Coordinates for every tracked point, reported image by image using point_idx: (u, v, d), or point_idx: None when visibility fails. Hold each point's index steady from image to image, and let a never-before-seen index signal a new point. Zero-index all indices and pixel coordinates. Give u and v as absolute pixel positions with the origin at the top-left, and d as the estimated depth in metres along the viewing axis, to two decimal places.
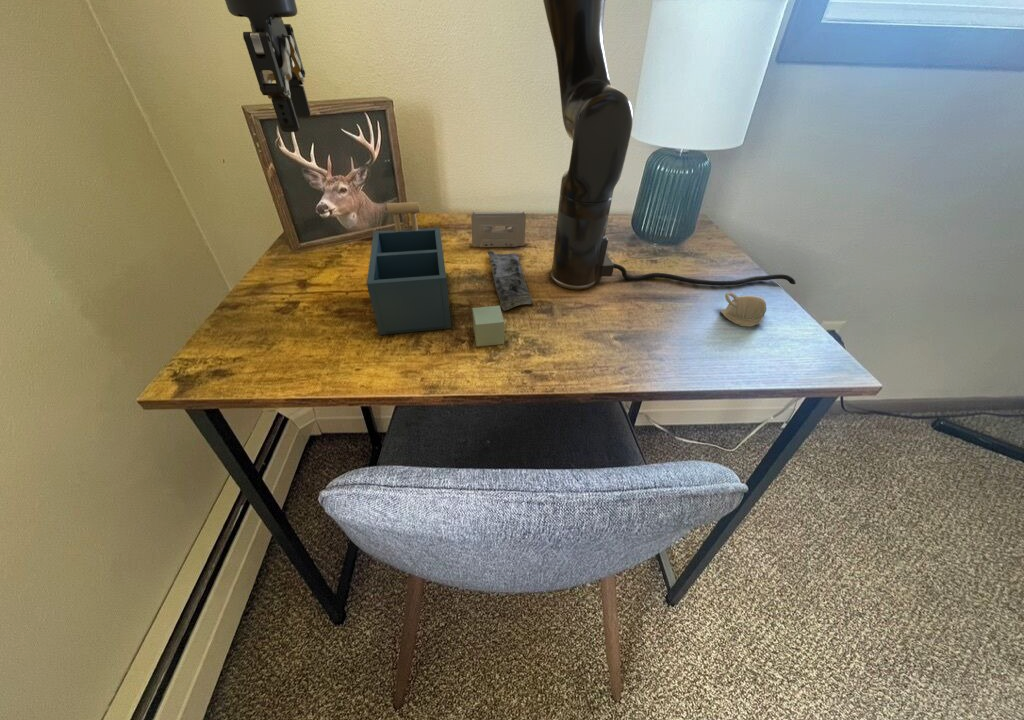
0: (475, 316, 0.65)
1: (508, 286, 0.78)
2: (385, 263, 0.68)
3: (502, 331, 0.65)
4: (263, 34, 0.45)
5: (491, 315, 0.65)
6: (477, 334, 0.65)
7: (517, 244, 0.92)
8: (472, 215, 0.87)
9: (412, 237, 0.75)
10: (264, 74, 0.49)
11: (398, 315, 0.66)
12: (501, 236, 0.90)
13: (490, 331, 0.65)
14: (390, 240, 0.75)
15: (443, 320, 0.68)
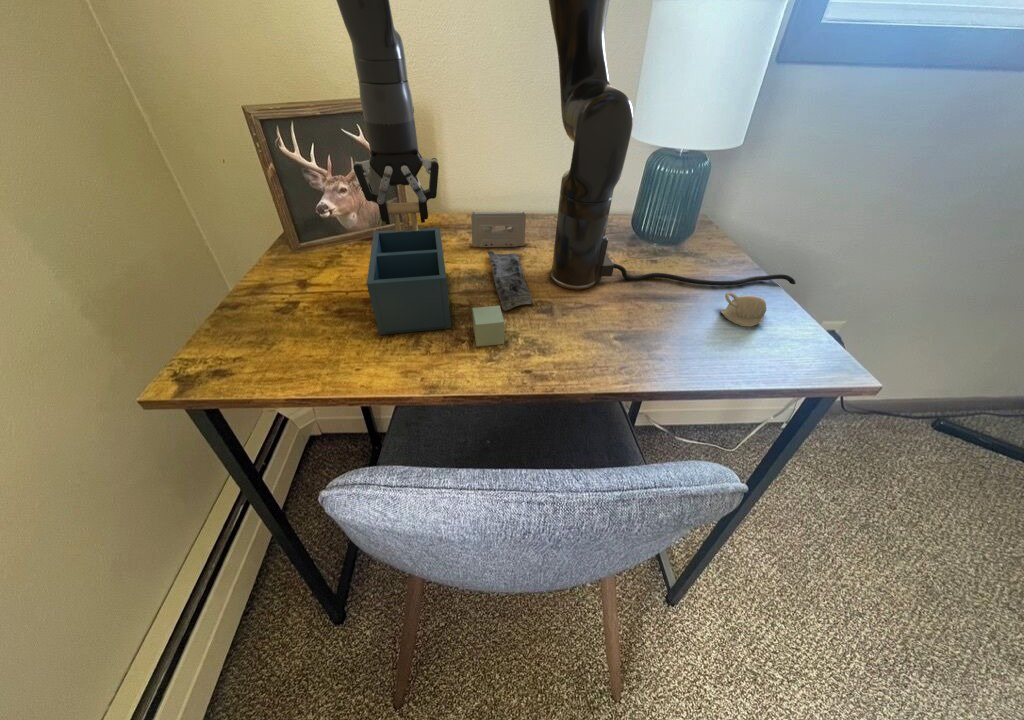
0: (475, 316, 0.65)
1: (508, 286, 0.78)
2: (385, 263, 0.68)
3: (502, 331, 0.65)
4: None
5: (491, 315, 0.65)
6: (477, 334, 0.65)
7: (517, 244, 0.92)
8: (472, 215, 0.87)
9: (412, 237, 0.75)
10: (380, 184, 0.69)
11: (398, 315, 0.66)
12: (501, 236, 0.90)
13: (490, 331, 0.65)
14: (390, 240, 0.75)
15: (443, 320, 0.68)
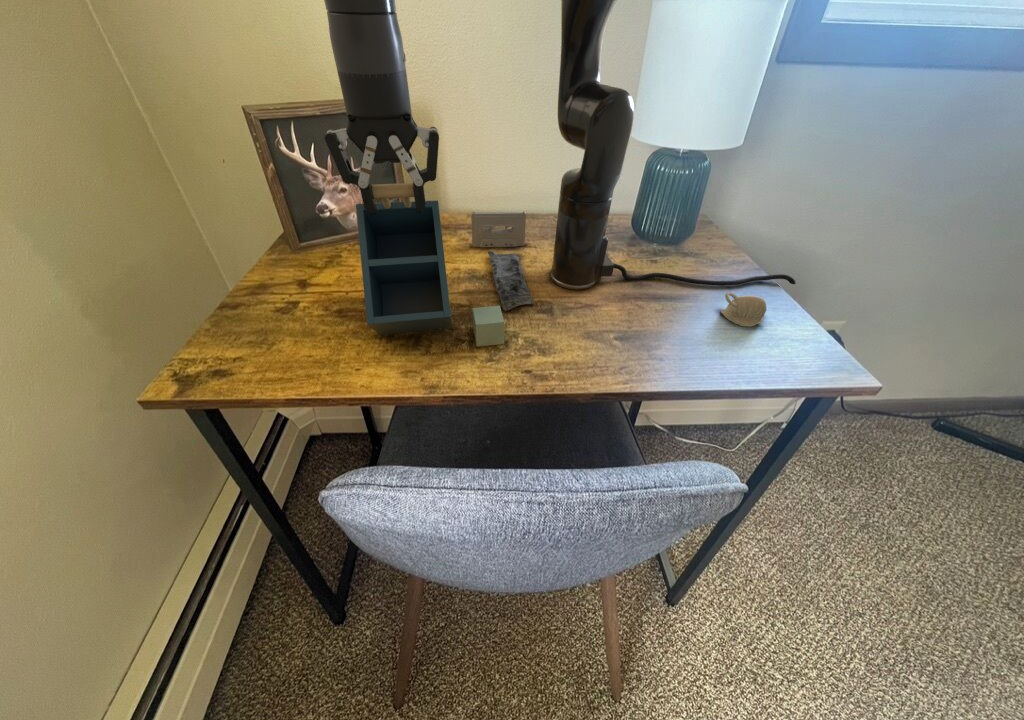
0: (475, 316, 0.65)
1: (509, 286, 0.78)
2: (378, 268, 0.60)
3: (502, 331, 0.65)
4: (325, 135, 0.48)
5: (491, 315, 0.65)
6: (477, 334, 0.65)
7: (517, 244, 0.92)
8: (472, 215, 0.87)
9: (404, 211, 0.61)
10: None
11: (398, 329, 0.65)
12: (501, 236, 0.90)
13: (490, 331, 0.65)
14: (377, 214, 0.61)
15: (444, 327, 0.68)
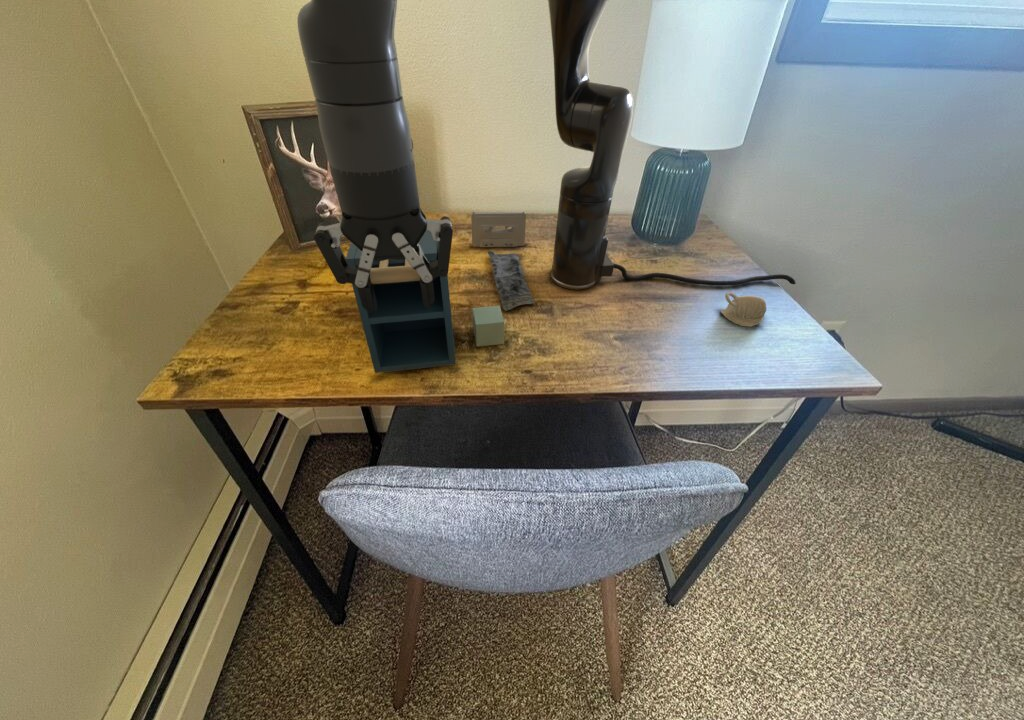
0: (475, 316, 0.65)
1: (509, 286, 0.78)
2: None
3: (502, 331, 0.65)
4: None
5: (491, 315, 0.65)
6: (477, 334, 0.65)
7: (517, 244, 0.92)
8: (472, 215, 0.87)
9: None
10: None
11: None
12: (501, 236, 0.90)
13: (490, 331, 0.65)
14: None
15: None
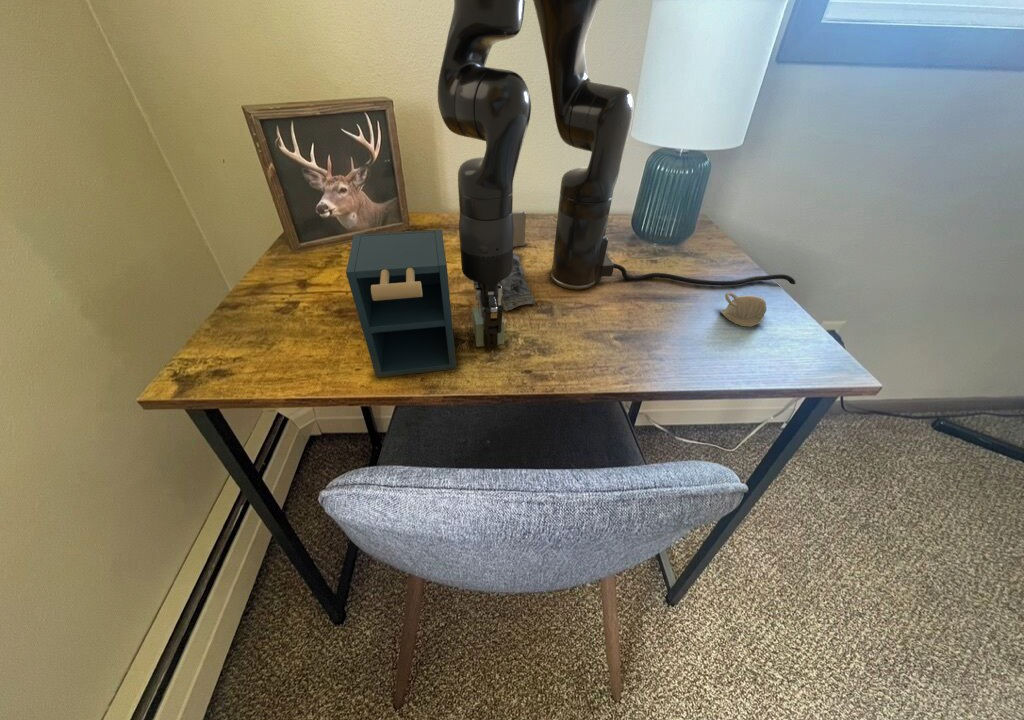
0: (475, 316, 0.65)
1: (509, 286, 0.78)
2: None
3: (502, 331, 0.65)
4: (500, 310, 0.57)
5: None
6: (477, 334, 0.65)
7: (517, 244, 0.92)
8: None
9: None
10: (483, 316, 0.62)
11: None
12: None
13: None
14: None
15: None
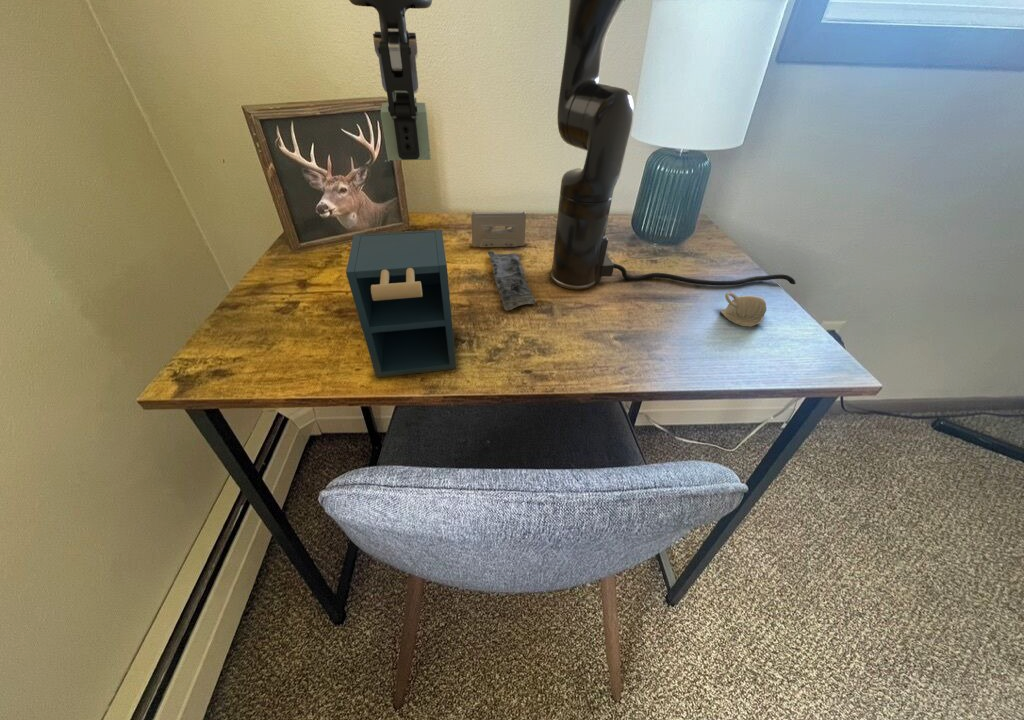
0: (383, 107, 0.42)
1: (510, 286, 0.78)
2: None
3: (425, 132, 0.43)
4: (405, 47, 0.34)
5: None
6: (386, 134, 0.42)
7: (517, 244, 0.92)
8: (472, 215, 0.87)
9: None
10: None
11: None
12: (501, 236, 0.90)
13: None
14: None
15: None
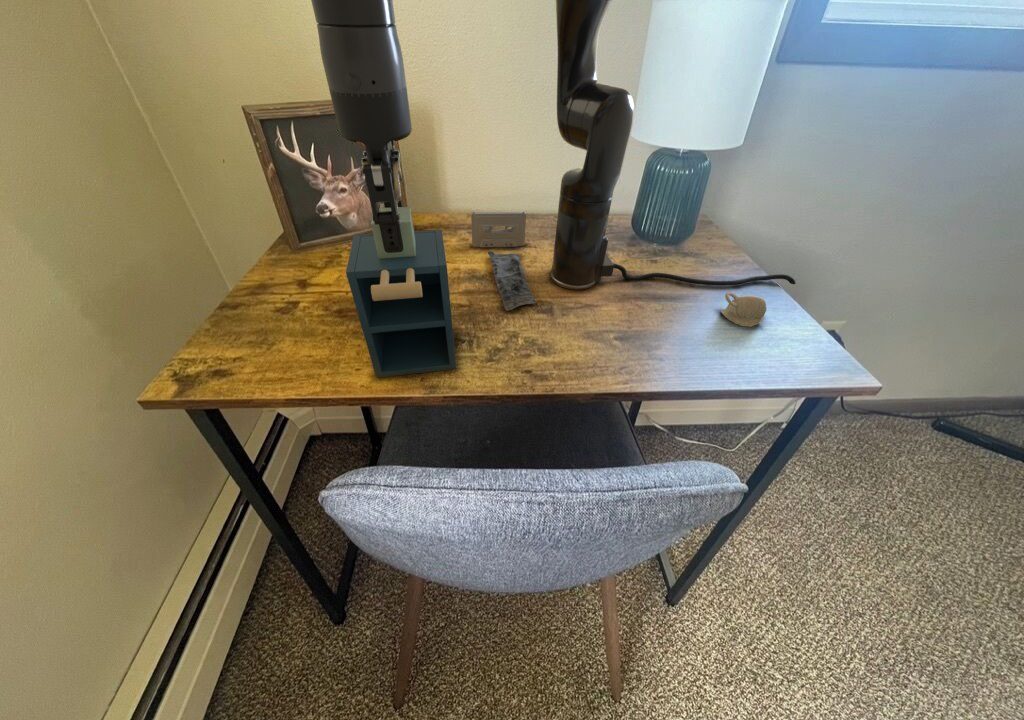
0: None
1: (510, 286, 0.78)
2: None
3: (410, 236, 0.49)
4: (385, 167, 0.40)
5: None
6: (376, 239, 0.49)
7: (517, 244, 0.92)
8: (472, 215, 0.87)
9: None
10: None
11: None
12: (501, 236, 0.90)
13: None
14: None
15: None
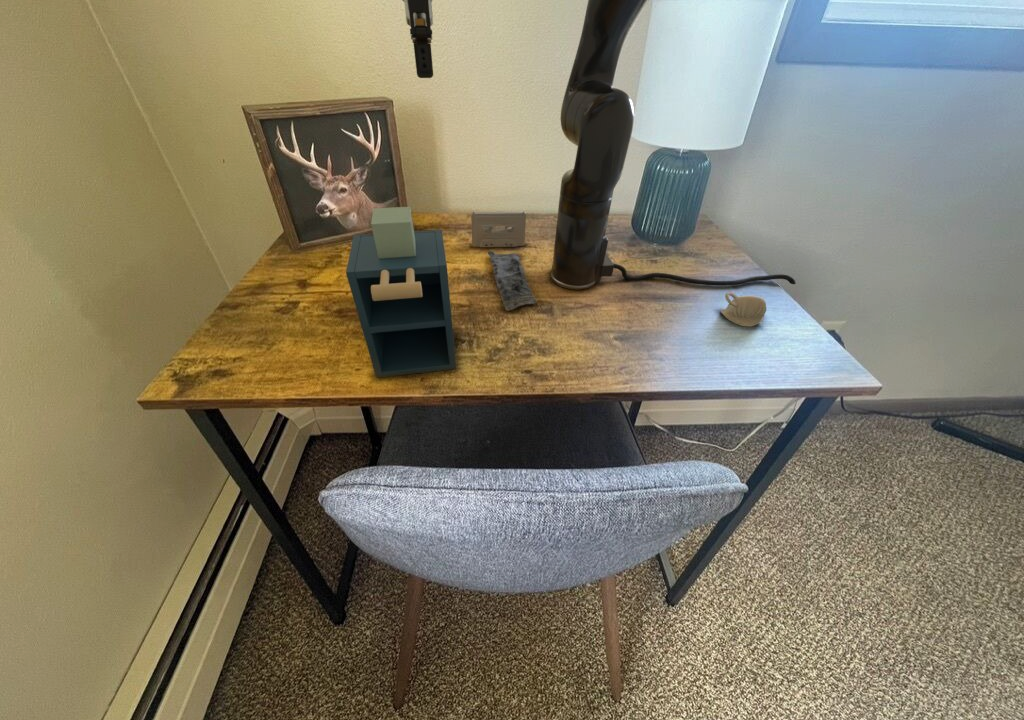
0: (374, 216, 0.49)
1: (510, 286, 0.78)
2: None
3: (410, 236, 0.49)
4: None
5: (396, 215, 0.49)
6: (376, 239, 0.49)
7: (517, 244, 0.92)
8: (472, 215, 0.87)
9: None
10: None
11: None
12: (501, 236, 0.90)
13: (393, 236, 0.49)
14: None
15: None
